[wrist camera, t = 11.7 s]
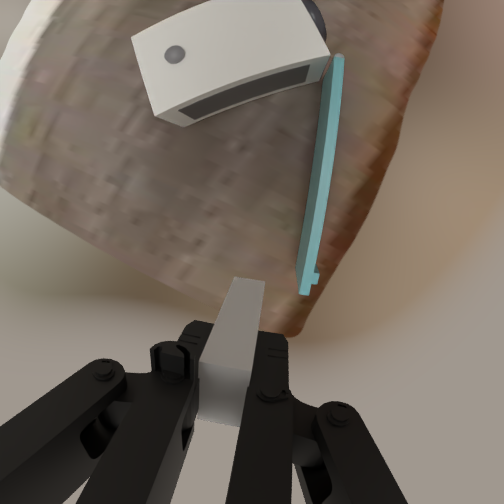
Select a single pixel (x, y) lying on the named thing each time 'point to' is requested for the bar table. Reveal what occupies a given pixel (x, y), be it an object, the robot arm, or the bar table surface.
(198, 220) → the bar table surface
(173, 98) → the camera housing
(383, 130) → the bar table surface
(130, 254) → the bar table surface
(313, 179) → the side door
